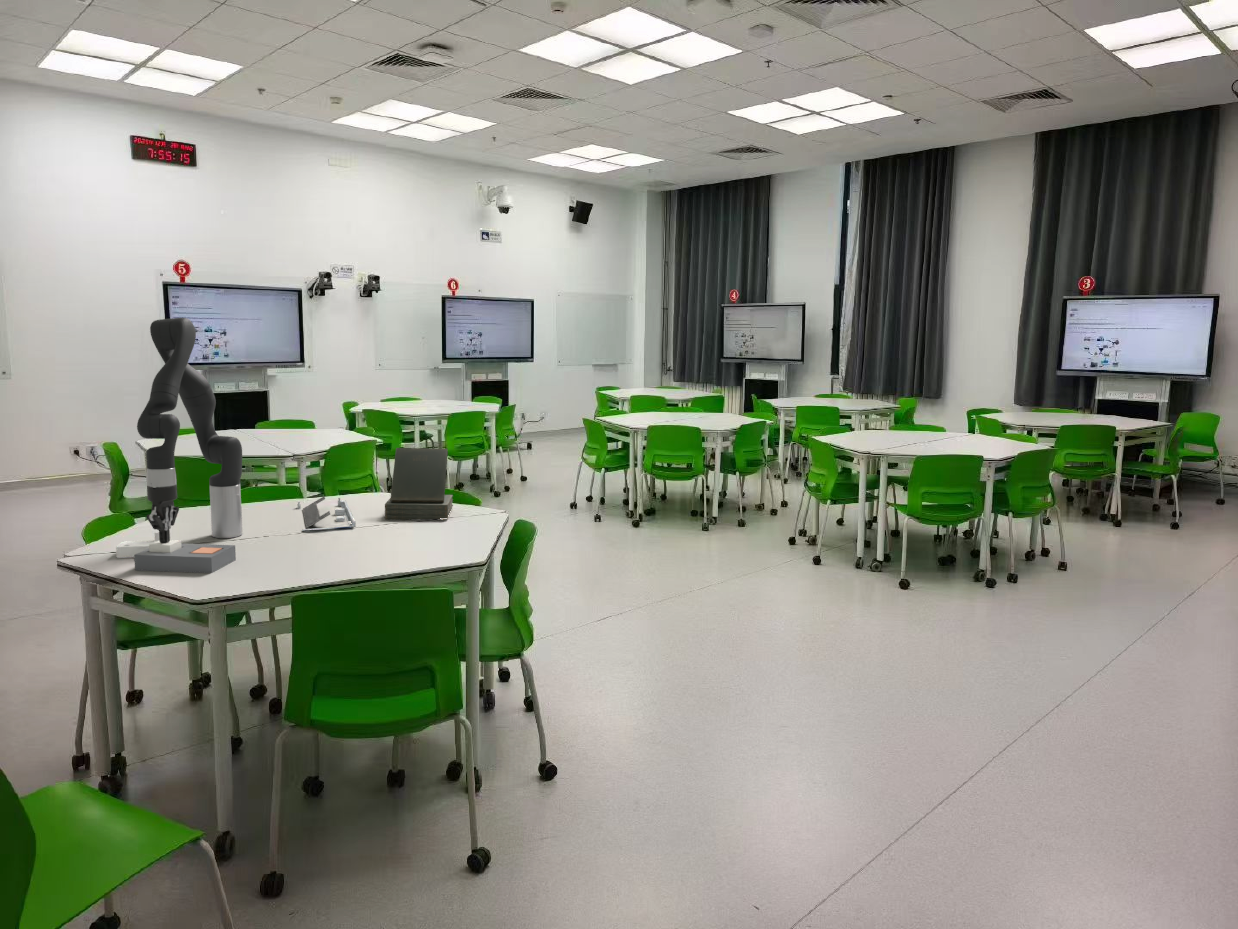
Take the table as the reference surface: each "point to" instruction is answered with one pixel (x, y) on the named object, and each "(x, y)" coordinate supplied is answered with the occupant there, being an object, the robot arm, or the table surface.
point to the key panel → (185, 559)
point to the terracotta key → (206, 550)
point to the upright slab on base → (419, 485)
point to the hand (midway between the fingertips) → (164, 542)
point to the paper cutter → (326, 514)
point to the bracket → (134, 547)
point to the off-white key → (165, 546)
